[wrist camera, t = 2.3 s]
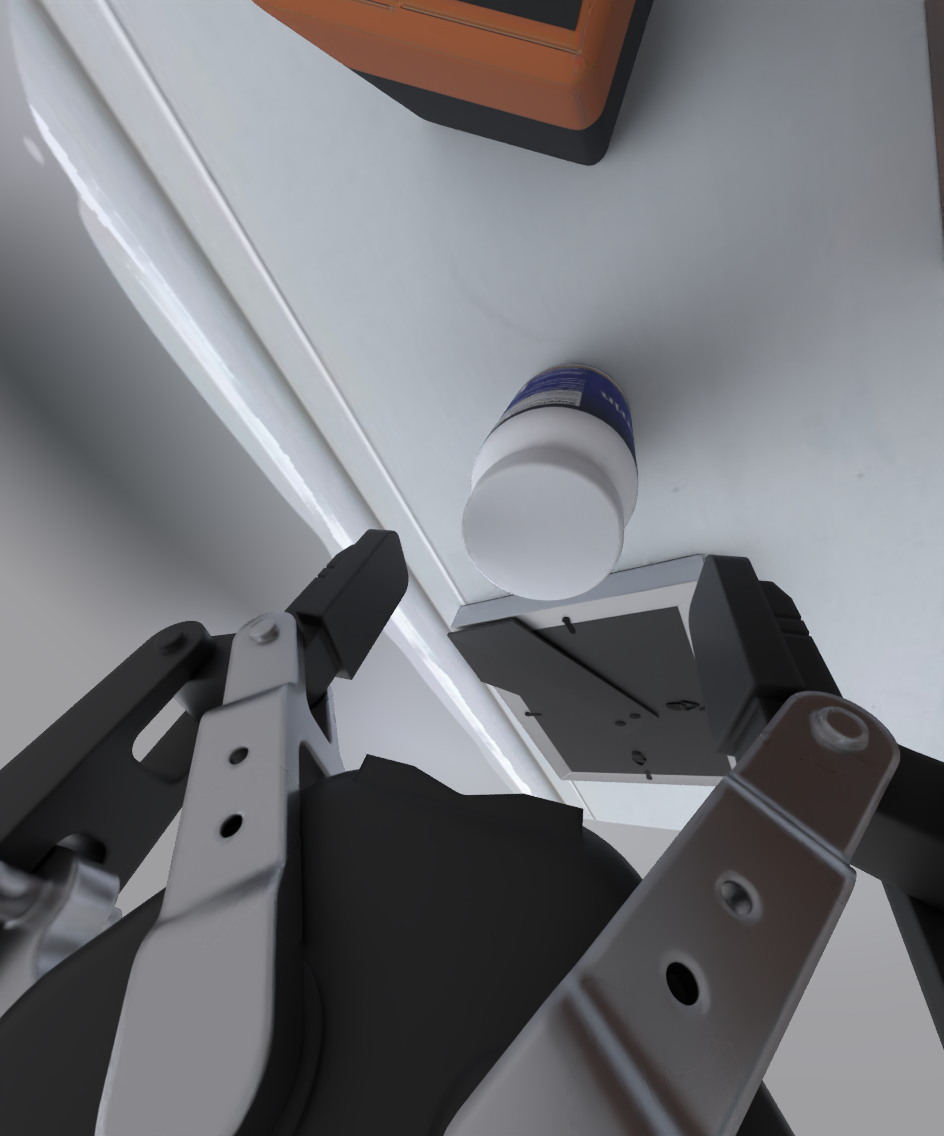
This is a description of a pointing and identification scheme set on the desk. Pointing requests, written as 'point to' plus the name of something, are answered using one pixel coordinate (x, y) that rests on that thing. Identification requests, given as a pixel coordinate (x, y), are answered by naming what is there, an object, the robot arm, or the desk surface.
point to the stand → (937, 78)
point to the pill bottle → (554, 486)
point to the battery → (489, 62)
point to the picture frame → (602, 676)
